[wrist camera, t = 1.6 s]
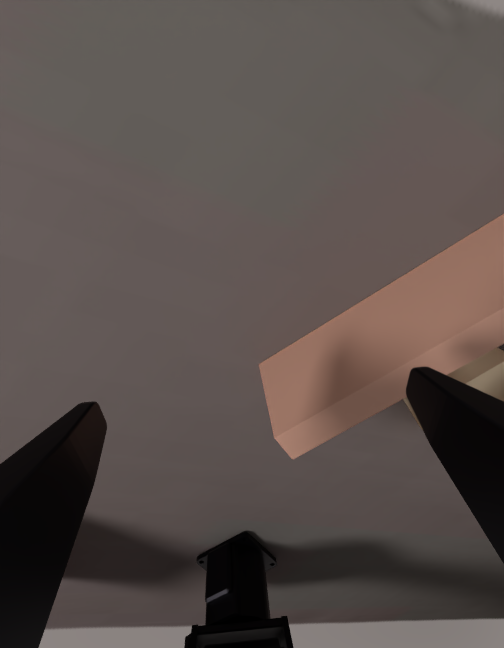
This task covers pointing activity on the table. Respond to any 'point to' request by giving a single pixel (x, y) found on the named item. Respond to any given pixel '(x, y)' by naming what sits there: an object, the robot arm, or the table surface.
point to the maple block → (480, 375)
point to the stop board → (389, 343)
